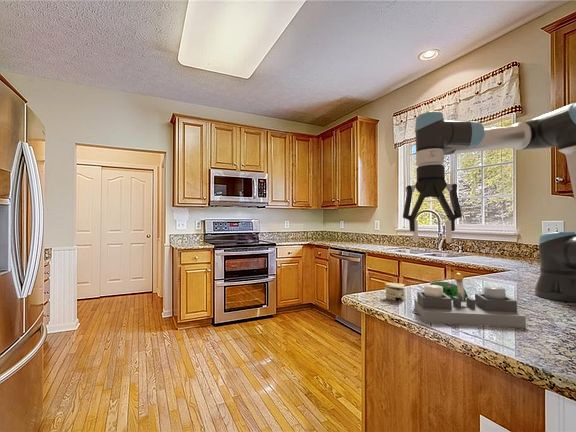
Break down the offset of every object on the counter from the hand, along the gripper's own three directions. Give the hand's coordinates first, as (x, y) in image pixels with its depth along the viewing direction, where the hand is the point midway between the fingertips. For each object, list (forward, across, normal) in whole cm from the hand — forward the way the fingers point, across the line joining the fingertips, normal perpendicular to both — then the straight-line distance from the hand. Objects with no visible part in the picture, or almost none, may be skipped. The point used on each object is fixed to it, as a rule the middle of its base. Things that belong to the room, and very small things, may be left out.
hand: (432, 242), depth 88 cm
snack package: (+22, +10, +24) cm, 34 cm away
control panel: (+21, +8, 0) cm, 23 cm away
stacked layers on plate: (+22, -8, +18) cm, 30 cm away
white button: (+16, 0, 0) cm, 16 cm away
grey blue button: (+16, +16, 0) cm, 22 cm away
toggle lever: (+17, +8, +1) cm, 19 cm away
